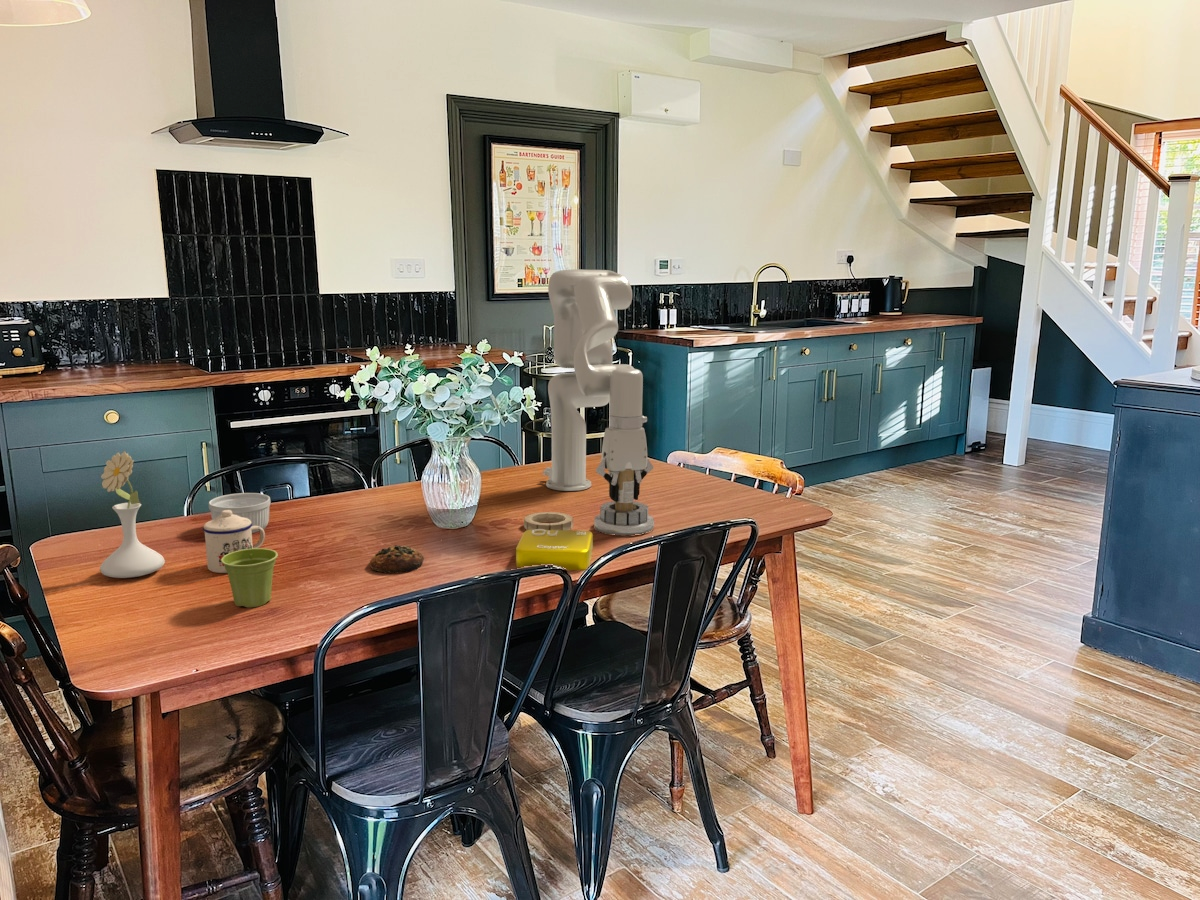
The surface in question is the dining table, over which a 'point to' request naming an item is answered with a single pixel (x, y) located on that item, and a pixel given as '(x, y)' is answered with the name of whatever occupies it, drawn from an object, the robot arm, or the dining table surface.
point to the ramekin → (243, 507)
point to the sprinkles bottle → (625, 489)
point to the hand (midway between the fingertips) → (624, 498)
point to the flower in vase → (127, 526)
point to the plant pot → (250, 575)
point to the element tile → (555, 548)
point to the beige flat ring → (533, 521)
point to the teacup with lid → (228, 538)
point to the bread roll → (397, 560)
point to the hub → (623, 520)
